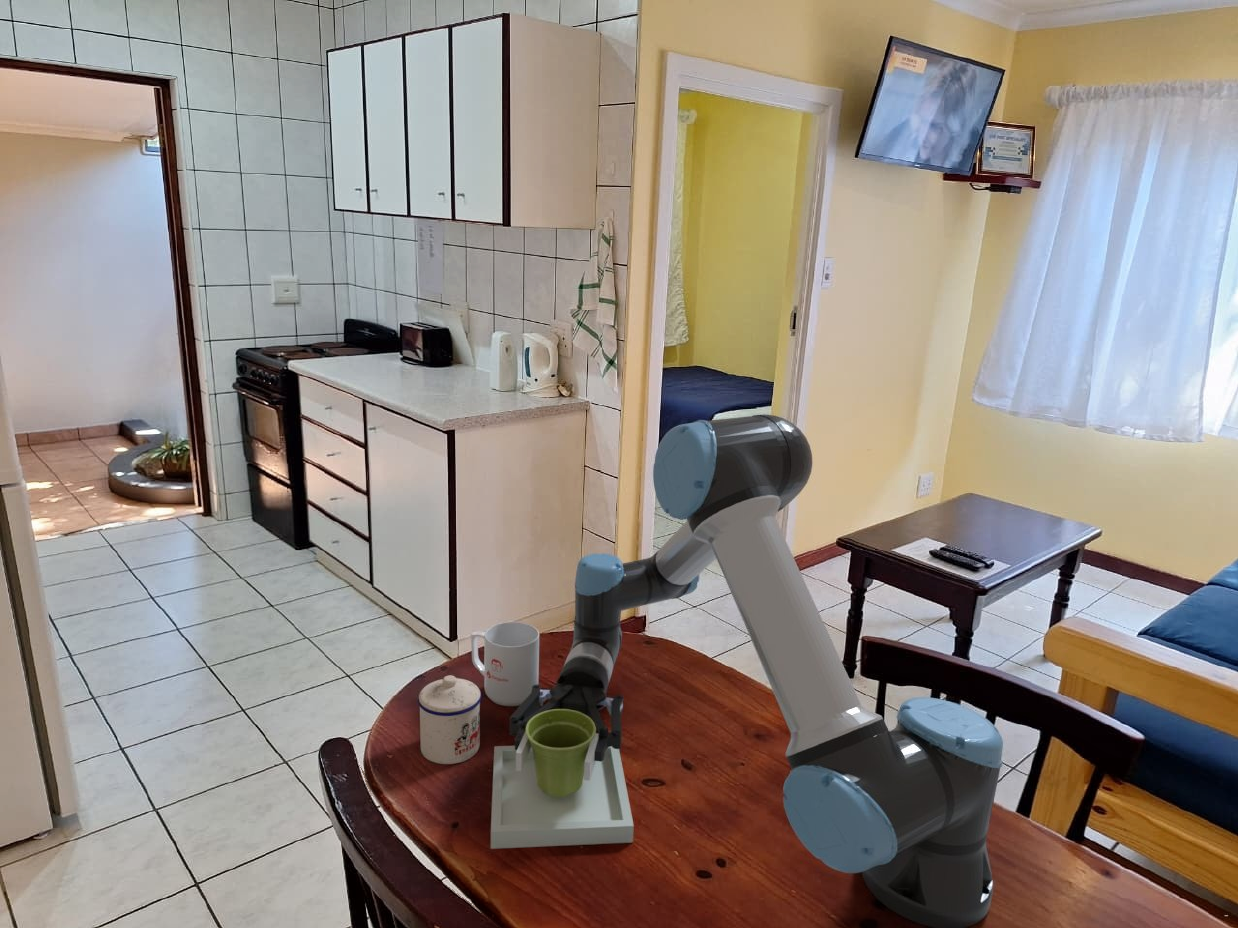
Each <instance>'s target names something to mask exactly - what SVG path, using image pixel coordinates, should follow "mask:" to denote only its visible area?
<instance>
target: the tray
mask: <svg viewBox="0 0 1238 928" xmlns="http://www.w3.org/2000/svg"><path fill="white" fill-rule="evenodd" d="M588 749H589V748H588ZM516 751H517V750H515V745H498V746H497V745H496V746H494V749H493V752H494V753H493V768H492V769H493V770H492V771H493V775H492V792H491V793H492V795H491V819H490V849H491V850H493V849H495V850H496V849H516V848H517V849H518V848H537V847H538V848H539V847H558V846H560V847H562V846H581V845H583V846H584V845H586V846H587V845H602V844H605V845H607V844H626V843H628V844H629V843H634V829H635V828H634V827H635V826H634V821H633V814H632V810H631V804H630V800H629V799H630V798H629V795H628V789H627V785H626V784H627V783H626V779H625V773H624V768H623V763H622V758H621V752H620V749H614V748H613V747H612V746H611V747H608V748H607V749H606V752H605V756H604V760H603V761H602V762H601V761H595V763H594V767H593V770H592V774H591V777H590V781H589V780H584V776H583V781H582V786H581V788H580V789H579V790H578V791H577V792H575V793H570V794H568V795H566V796H564V797H555V796H550V795H547V794H545V793H544V792H543V791H542V790H541V789H540V787H539V786H538V784H537V778H536V770H535V763H534V756H533V749H532V747H531V749H530V752H529V754H528V756H527V759H526V761H525V764H524V766H523V768H522V771H516Z"/></svg>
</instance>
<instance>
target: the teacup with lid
mask: <svg viewBox="0 0 1238 928" xmlns="http://www.w3.org/2000/svg"><path fill="white" fill-rule="evenodd" d="M481 700H482V692H481V690H480V688H479V687H478V686H477V685H476V684H475V683H474V682H472V681H470V680H467V679H464V678H458V677H456V676H454V675H452V674H450V675H446V676H445V675H444V677H443V678H442V679H438V680H435V681H433V682H430V683H428V684H427V685H425V686H424V687H423V688H422V689H421V691H420V692H419V694H418V697H417V703H418V705H419V726H420V727H419V730H420V731H419V732H420V737H419V738H420V751H421V752H420V753H421V754H422V755H423V757H424V758H426V759H427V760H428V761H430V762H433V763H434V764H435V763H436V764H440V765H454V764H458V763H462V762H465V761H468V760H469V759H471V758H472V757H474V755H476V754H477V752H478V750H479V748H480V744H481V743H480V742H481V741H480V739H481V737H480V736H481V733H480V732H481V731H480V730H481V727H480V726H481V722H480V719H481V718H480V717H481V716H480V715H481V713H480V712H481V710H480V708H481V707H480V706H481Z"/></svg>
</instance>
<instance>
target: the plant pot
mask: <svg viewBox="0 0 1238 928" xmlns="http://www.w3.org/2000/svg"><path fill="white" fill-rule="evenodd" d="M595 733H596V726H595V723H594V722H593V720H592V719H591V718H590V717H588V716H587V715H585V714H583V713H581V712H578V711H575V710H569V709H553V710H547V711H544V712H541V713H539V714H537V715H535V716H534V717H532V718H531V719H530V720H529V721H528V723H527V725H526V735H527V738H528V739H529V740H530V744H531V746H532V749H533V756H534V763H535V770H536V778H537V784H538V786H539V787H540V789H541V790H542V791H543V792H544V793H545V794H547V795H550V796H555V797H564V796H566V795H568V794H570V793H575V792H577V791H578V790H579V789H580V788H581V786H582V781H583V776H584V764H585V759H586V756H587V752H588V748H589V746H590V743H591V740H592V739H593V738H594V736H595Z"/></svg>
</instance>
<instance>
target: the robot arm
mask: <svg viewBox="0 0 1238 928" xmlns="http://www.w3.org/2000/svg"><path fill="white" fill-rule="evenodd" d="M812 470H813V453H812V449H811V445H810V443H809V441H808V439H807V437H806V436H805V434H804V433H803V432H802V431H801V429H800V428H799V427H797V425H795V424H794V423H793V422H791V421H790V420H787V419H785V418H784V417H782V416H781V417H780V416H779V415H778V416H777V415H773V414H754V415H751V416H740V417H732V418H731V417H730V418H723V419H720V418H719V419H711V420H704V419H698V420H696V421H693V422H691V423H690V422H689V423H684V424H678V425H676V426H674V427H672V428H671V429H669V430H668V431H667V432H666V433H665V434H664V436H663V437H662V439H660V441H659V444H658V446H657V449H656V452H655V456H654V463H653V471H652V477H653V488H654V492H655V495H656V499H657V502H658V503H659V506H660V507H661V508H662V511H664V513H665V514H668V515H669V517H671V518H673V519H677V520H679V521H680V520H681V521H682V520H686V521H685V522H684V524H682V525H681V527H679V529H677V530H676V531H675V533H673V535H672V536H671V537H670V538H668V540H667V541H666V542H665V543H664V544H663V545H662V546H661V547H660V548H659V549H658V550H657V551H656V552H655V553H654V554H653V555H652V556H649V557H647V558H642V559H638V560H633V561H628V562H624V563H623V561H622V560H621V558H619V557H618V556H616V555H614V554H609V553H596V552H595V553H590V554H587V555H584V556H583V557H581V558H580V560H579V561H578V563H577V566H576V572H575V579H574V596H575V599H574V601H575V602H574V607H575V611H574V621H573V641H572V645H571V648H570V650H569V652H568V655H567V657H566V660H565V661H564V665H563V666H562V669H561V671H560V673H559V676H558V679H557V680H556V684H555V685H554V686H552V687H551V688H550V689H541V685H540V684H538V685H533V686H532V692H531V694H530V695H529V696H528V697H527V698H526V699H525V701H524V702H523V703H522V704H521V705H518V706H517V709H516V710H515V711H514V712H513V713H512V714H511V716H510V717H509V735H511V736H515V738H514V746H515V750H517V751H516V771H522V768H523V766H524V764H525V761H526V759H527V756H528V754H529V752H530V749H531V747H532V746H531V744H530V740H529V739H528V738H527V735H526V725H527V723H528V721H529V720H530V719H531V718H532V717H534V716H535V715H537V714H539V713H541V712H544V711H547V710H553V709H569V710H575V711H578V712H581V713H583V714H585V715H587V716H588V717H590V718H591V719H592V720H593V722H594V723H595V726H596V733H595V736H594V738H593V739H592V740H591V743H590V746H589V749H588V752H587V756H586V759H585V764H584V780H589V781H590V777H591V774H592V770H593V767H594V763H595V761H601V762H602V761H603V760H604V756H605V752H606V749H607V748H608V747H611V746H612V747H613V748H614V749H619V750H620V749H621V748H622V737H623V735H622V734H623V730H622V728H623V727H622V716H621V715H622V714H623V710H624V707H623V706H624V696H623V695H622V694H616V695H615V696H614V697H613V698H612V697H609V696H608V697H607V690H608V688H609V683H610V680H611V677H612V674H613V671H614V666H615V663H616V660H617V658H618V655H619V652H620V651H621V649H622V648H621V646H622V641H623V640H622V639H623V638H622V637H623V633H622V629H621V616H622V612H623V611H626V610H631V609H634V608H638V607H642V606H647V605H651V604H655V603H661V602H665V601H669V600H675V599H676V600H677V599H680V598H681V597H684V596H687V595H689V594H692V593H693V592H695V590H697V588H698V583H699V582H700V574H701V573H703V571H704V570H705V569H707V567H709V566H710V565H712V563H714V561H715V560H716V561H717V562H718V566H719V567H720V570H721V572H722V574H723V577H724V580H725V581H726V583H727V586H728V588H729V591H730V594H731V595H732V596H731V597H732V598H733V601H734V603H735V605H736V607H737V610H738V612H739V614H740V616H741V620H742V621H743V624H744V626H745V629H746V631H747V633H748V636H749V638H750V641H751V643H752V645H753V647H754V649H755V652H756V654H757V656H758V659H759V661H760V663H761V666H762V668H763V671H764V673H765V675H766V677H767V680H768V683H769V684H770V687H771V690H772V692H773V694H774V696H775V699H776V701H777V704H778V706H779V708H780V711H781V713H782V716H783V718H784V720H785V722H786V725H787V727H788V731H789V732H790V740H789V744H787V745H788V746H787V748H786V751H785V757H786V760H787V761H788V763H789V767H790V769H791V771H790V773H789V775H787V777H786V778H785V781H784V783H783V789H782V792H783V794H784V796H783V798H782V801H783V807H784V808H783V809H784V810H785V814H786V817H787V820H788V821H789V824H790V826H791V828H792V830H793V831H794V833H795V835H796V836H797V838H798V840H800V842H801V844H802V845H803V846H804V847H805V848H806V849H807V850H808V851H809V853H811V854H812V855H813V857H814V858H816V859H818V860H820V861H822V863H824V864H825V865H826V866H827V867H829V868H831V869H833V870H836V871H839V872H842V873H846V874H859V873H861V874H862V878H863V880H864V883H865V884H866V887H867V888H868V889H869V890H870V892H871V893H872V894H873V895H874V896H875V898H876V899H877V900H878V901H879V902H880V903H882V904H883V905H884V906H885V907H886V908H888V909H889V910H891V911H892V912H894V913H895V914H897V915H899V916H901V917H903V918H905V919H906V920H909V921H911V922H913V923H916V924H920V925H922V926H926V927H929V928H930V927H931V928H968V927H970V926H973V925H976V924H977V923H979V922H980V921H982V920H983V919H984V918H985V917H986V916H987V914H988V912H989V910H990V908H991V902H992V898H993V893H994V881H993V880H994V879H993V875H992V870H991V864H990V859H989V854H988V850H987V844H986V842H987V837H988V830H989V827H990V820H991V815H992V811H993V807H994V800H995V797H996V796H995V795H996V791H997V785H998V783H999V782H998V781H999V778H1000V777H999V776H1000V770H1001V768H1002V767H1003V760H1002V756H1003V749H1004V740H1003V737H1002V735H1001V734H1000V732H999V730H998V728H997V727H996V726H995V725H994V724H993V723H992V722H991V721H990V720H989V719H988V718H986V717H985V716H983V715H981V714H980V713H978V712H976V711H975V710H972V709H970V708H968V707H966V706H964V705H961V704H959V703H957V702H952V701H948V700H945V699H940V698H935V697H929V696H928V697H925V696H924V697H923V696H919V697H912V698H908V699H906V700H904V701H903V702H902V703H901V704H900V707H899V710H898V711H897V712H896V713H897V714H896V720H897V722H896V726H895V727H894V728H893V729H890V730H889V728H888V726H887V723H886V721H885V719H884V718H883V716H882V715H880V714H878V713H876V712H874V711H871V710H869V709H867V708H866V707H864V706H863V705H862V703H861V701H860V698H859V696H858V694H857V692H856V689H855V688H854V685H853V683H852V682H851V679H850V677H849V675H848V672H847V671H846V668H845V667H844V664H843V662H842V659H841V657H840V655H839V653H838V651H837V649H836V647H835V644H834V642H833V641H832V638H831V636H830V633H829V631H828V628H827V627H826V625H825V623H824V620H823V619H822V617H821V615H820V612H819V609H818V608H817V606H816V604H815V601H814V598H813V597H812V594H811V593H810V590H809V588H808V585H807V584H806V582H805V580H804V577H803V575H802V573H801V571H800V569H799V565H798V564H797V563H796V559H795V557H794V555H793V553H792V550H791V549H790V547H789V545H788V542H787V540H786V538H785V536H784V534H783V532H782V530H781V528H780V526H779V522H778V521H777V517H776V516H777V514H778V512H780V511H782V510H783V509H784V508H785V507H786V506H787V505H789V504H790V503H791V502H792V501H793V500H794V499H795V498H796V497H797V496H798V495H800V493H802V491H803V490H804V488H805V486H806V485H807V484H808V482H809V479H810V477H811V474H812ZM547 700H549V701H548V702H547V703H545V702H546V701H547ZM544 703H545V704H544ZM605 707H606V708H607V709H606V710H607V711H608V713H609V715H610V728H611V732H609V726H606V725H605V722H604V721H603V718H602V716H601V713H600V712H599V711H601V710H602V709H603V708H605Z"/></svg>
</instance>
